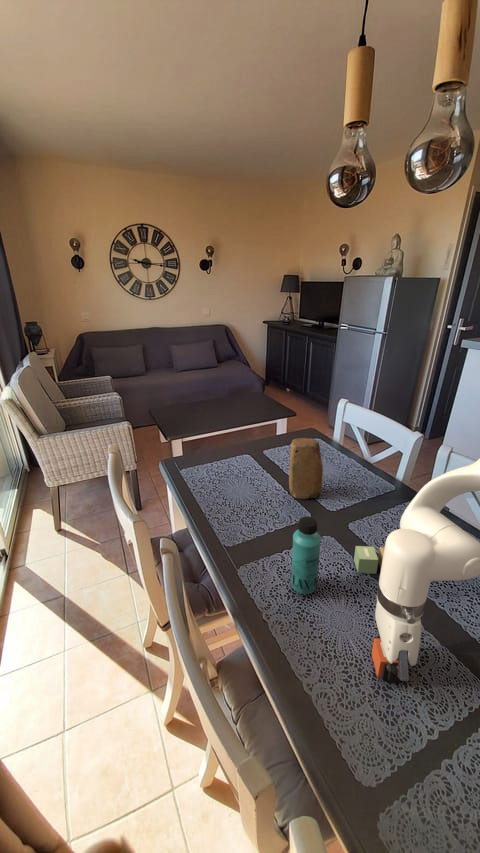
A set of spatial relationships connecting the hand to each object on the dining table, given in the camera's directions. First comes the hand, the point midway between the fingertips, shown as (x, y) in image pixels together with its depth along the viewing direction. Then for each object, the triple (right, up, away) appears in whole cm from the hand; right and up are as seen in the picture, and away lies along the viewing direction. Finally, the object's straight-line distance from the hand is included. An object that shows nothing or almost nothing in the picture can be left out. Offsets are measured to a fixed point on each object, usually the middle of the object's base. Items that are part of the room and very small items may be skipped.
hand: (386, 664), depth 69 cm
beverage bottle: (-13, +7, +18) cm, 23 cm away
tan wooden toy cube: (+10, +10, +23) cm, 27 cm away
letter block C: (0, 0, 0) cm, 0 cm away
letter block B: (+4, +10, +23) cm, 26 cm away
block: (-6, +23, +54) cm, 59 cm away
